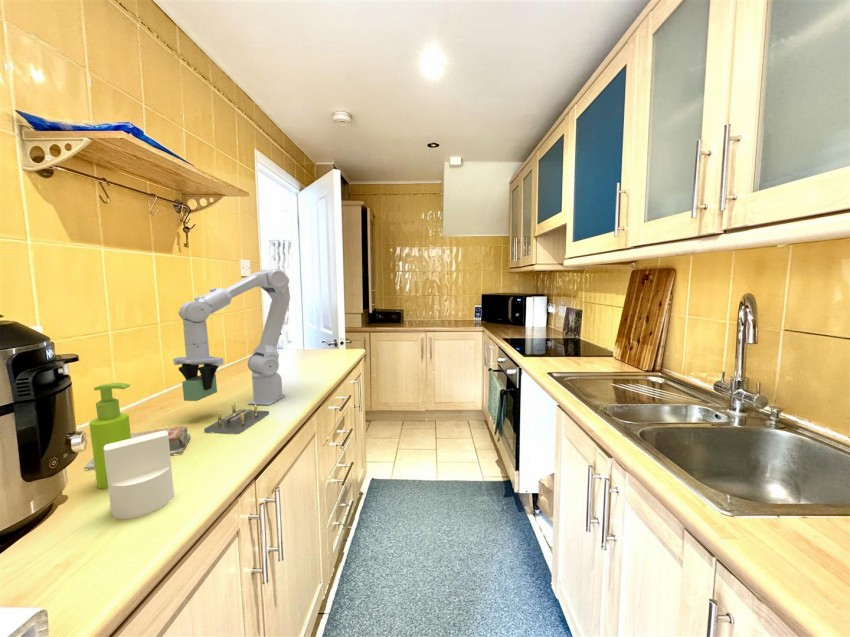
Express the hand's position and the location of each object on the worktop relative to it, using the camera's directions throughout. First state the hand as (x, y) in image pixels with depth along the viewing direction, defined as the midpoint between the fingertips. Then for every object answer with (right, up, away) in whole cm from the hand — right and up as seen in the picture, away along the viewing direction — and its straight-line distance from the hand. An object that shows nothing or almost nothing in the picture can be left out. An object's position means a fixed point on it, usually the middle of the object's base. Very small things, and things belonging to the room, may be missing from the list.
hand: (200, 389), depth 104 cm
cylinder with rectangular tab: (+14, -13, -39) cm, 44 cm away
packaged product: (-1, -12, -20) cm, 23 cm away
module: (0, -2, 0) cm, 2 cm away
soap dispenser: (+3, -13, -32) cm, 34 cm away
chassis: (+13, -9, -3) cm, 16 cm away
